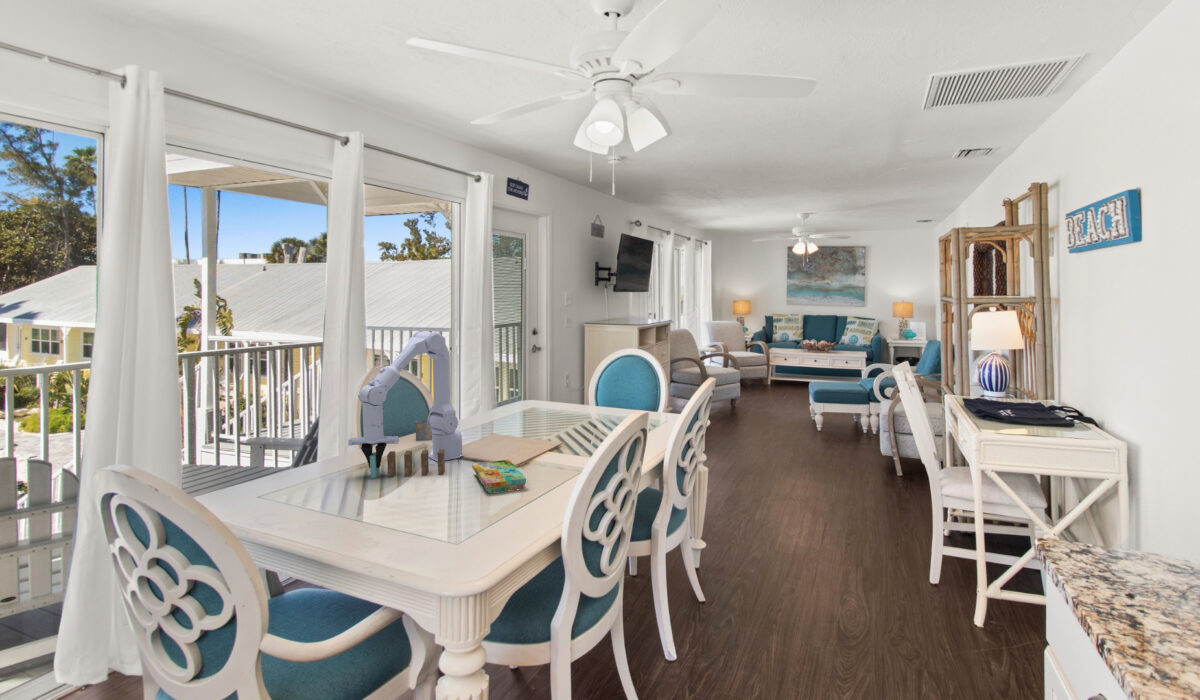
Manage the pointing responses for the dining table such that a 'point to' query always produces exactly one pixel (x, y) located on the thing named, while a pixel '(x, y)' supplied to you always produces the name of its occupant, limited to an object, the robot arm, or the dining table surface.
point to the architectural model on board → (423, 431)
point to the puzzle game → (499, 476)
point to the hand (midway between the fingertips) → (374, 467)
